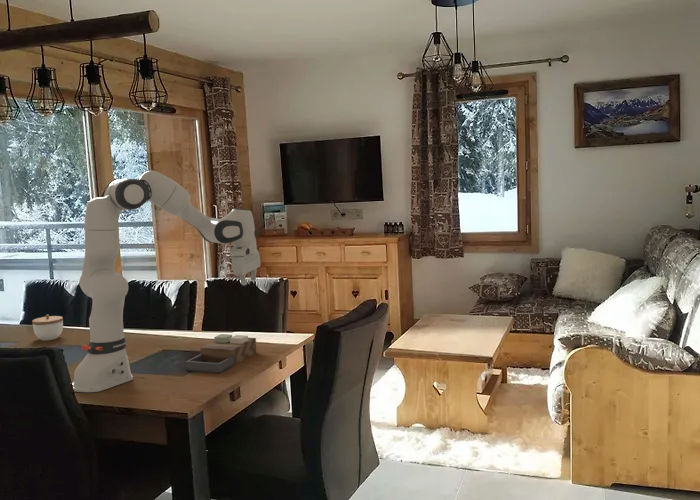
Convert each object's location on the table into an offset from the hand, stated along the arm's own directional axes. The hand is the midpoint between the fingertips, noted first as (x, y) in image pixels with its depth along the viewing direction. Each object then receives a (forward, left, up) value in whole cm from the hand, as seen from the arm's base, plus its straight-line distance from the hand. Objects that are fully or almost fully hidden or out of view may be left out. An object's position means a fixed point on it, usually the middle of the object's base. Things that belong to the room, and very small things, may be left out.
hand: (249, 282), depth 253 cm
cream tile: (-11, 0, -22) cm, 24 cm away
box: (-27, +3, -28) cm, 39 cm away
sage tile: (-11, +7, -22) cm, 25 cm away
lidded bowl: (-3, +102, -28) cm, 106 cm away
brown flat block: (-13, +3, -28) cm, 31 cm away
